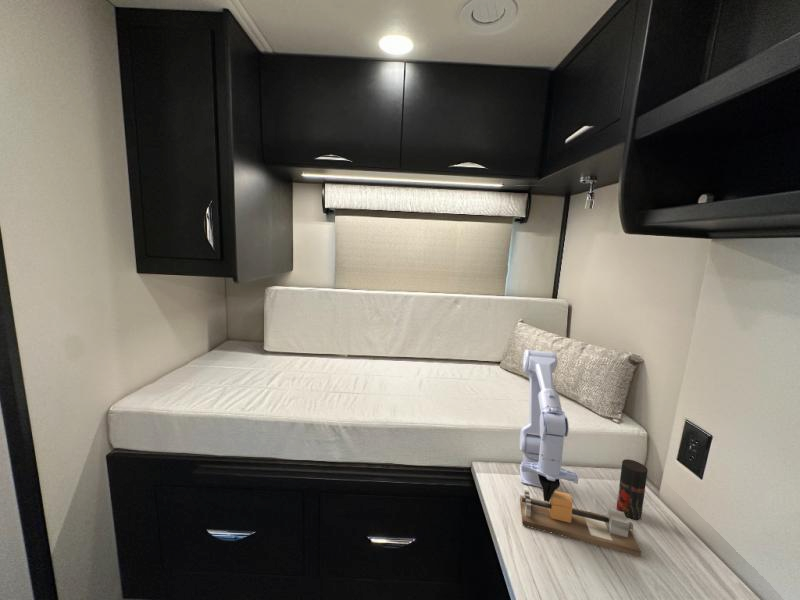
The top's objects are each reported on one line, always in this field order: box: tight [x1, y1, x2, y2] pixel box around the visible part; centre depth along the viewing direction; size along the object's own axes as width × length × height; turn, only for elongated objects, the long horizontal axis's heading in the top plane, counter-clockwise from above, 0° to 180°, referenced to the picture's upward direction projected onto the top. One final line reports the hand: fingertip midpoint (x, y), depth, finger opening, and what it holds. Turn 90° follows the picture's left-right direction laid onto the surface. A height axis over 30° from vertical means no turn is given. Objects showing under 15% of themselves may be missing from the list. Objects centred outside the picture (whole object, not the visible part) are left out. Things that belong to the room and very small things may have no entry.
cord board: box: [519, 490, 642, 557], centre depth 86 cm, size 10×28×6 cm, turn 72°
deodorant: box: [616, 458, 649, 521], centre depth 91 cm, size 6×6×15 cm
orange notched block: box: [549, 490, 573, 523], centre depth 87 cm, size 4×5×6 cm
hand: (546, 499), depth 88 cm, fingers closed
